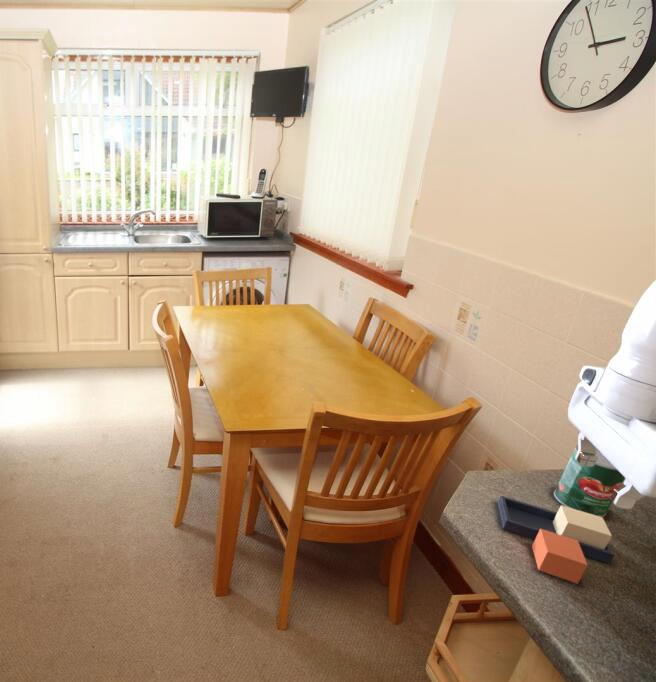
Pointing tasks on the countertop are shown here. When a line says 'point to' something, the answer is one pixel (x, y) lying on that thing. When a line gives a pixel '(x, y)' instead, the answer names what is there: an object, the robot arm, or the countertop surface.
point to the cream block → (582, 527)
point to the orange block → (559, 556)
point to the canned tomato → (588, 485)
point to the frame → (540, 525)
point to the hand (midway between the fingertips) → (600, 482)
